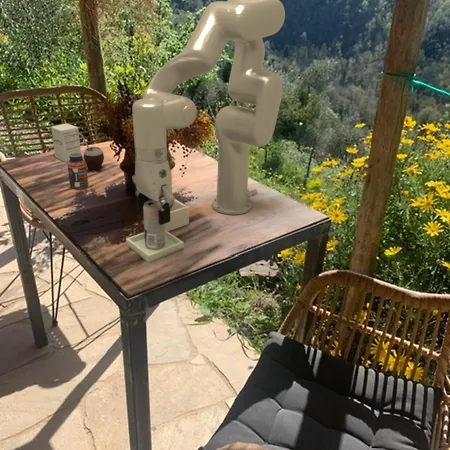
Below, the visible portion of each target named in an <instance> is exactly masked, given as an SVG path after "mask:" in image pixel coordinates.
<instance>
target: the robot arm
mask: <svg viewBox="0 0 450 450" xmlns="http://www.w3.org/2000/svg"><path fill="white" fill-rule="evenodd" d="M285 18H286V11H285V7H284V4H283V3H282V1H280V0H227V1H225V0H224V1H223V0H222V1H221V0H217V1H214V2H211V3H209V4H208V5H207V6H206V8H205V9H204V11H203V13H202V15H201V16H200V18H199V21H198V22H197V24H196V26H195V28H194V30H193V32H192V33H191V35H190V37H189V40H188V41H187V43H186V46H185V47H184V49H183V50H182V51H181V52H180V53H178V54H177V55H175V56H174V57H172V58H171V59H170V60H169V61H167V62H166V63H165V64H163V65H162V66H161V67H160V68H159V69H158V70H157V71H156V72H155V74H154V75H153V76H152V78H151V80H150V82H149V84H148V86H147V87H146V90H145V91H144V94H143V96H142V98H140V99H137V100H135V101H134V102H133V103H132V126H133V127H132V128H133V138H134V139H133V142H134V143H133V144H134V155H135V163H134V164H135V165H134V168H135V169H134V175H132V177H131V178H132V182H133V188H134V189H135V196H136V202H137V203H136V207H137V211H139V212H141V211H143V207H144V203H145V202H147V201H150V200H154V201H157V204H158V206H159V208H160V210H158V217H159V224H160V225H162V224H165V223H168V222H170V209H171V208H172V206H173V203H174V200H175V199H176V198H175V196H174V194H173V187H172V185H173V184H172V174H171V169H170V163H169V160H168V151H167V148H168V147H167V131H168V130H178V129H184V128H187V127H189V126H190V125H192V124H193V123H194V122H195V120H196V118H197V114H198V109H197V106H196V104H195V102H194V101H193V100H191V98H189V97H187V96H184V95H180V94H174V93H173V91H174V90H175V89H176V88H177V87H178V86H180V85H181V84H182V83H184V82H186V81H188V80H189V79H190V80H191V79H193V78H197V77H199V76H202V75H205V74H209V73H210V72H212V71H213V70H214V69H215V67H216V65H217V64H218V61H219V59H220V57H221V55H222V54H223V53H224V50H225V47H226V46H227V44H228V42H229V41H234V54H233V60H232V65H231V68H230V69H231V70H230V74H229V81H228V85H227V92H228V96H229V97H230V98H231V99H232V100H234V101H235V102H240V103H243V104H248V105H252V106H253V105H254V106H255V109H250V108H247V107H246V108H245V107H242V106H237V105H227V106H224V107H222V108H221V109H220V110H219V111H218V112H217V114H216V116H215V117H216V118H215V130H216V135H217V137H216V138H217V144H218V145H217V147H218V148H217V150H218V152H217V155H218V156H217V180H216V181H217V182H216V183H217V186H216V197H215V198H213V200H212V201H211V207H212V209H213V210H214V211H215V212H218V213H221V214H224V215H233V216H235V215H243V214H245V213H248V212H249V211H250V210H251V209H252V202H251V201H250V199H251V197H255V196H257V195H258V190H257V189H251V190H250V191H249V188H248V185H249V173H250V172H249V171H250V169H249V168H250V160H251V159H250V156H251V155H250V148H249V146H248V145H251V146H254V147H261V148H262V147H264V146H266V145H268V144H269V142H270V141H271V140H272V138H273V135H274V133H275V128H276V124H277V120H278V115H279V111H280V105H281V102H282V96H283V90H284V89H283V82H282V79H281V77H280V75H278V74H277V73H276V72H273V71H270V70H263V67H264V62H265V55H266V48H265V43H264V41H263V38H267V37H269V36H273V35H275V34H276V33H278V32H279V31H280V30H281V28H282V27H283V25H284V23H285ZM161 196H162V197H161ZM163 200H165V204H164V205H162V202H161V201H163Z"/></svg>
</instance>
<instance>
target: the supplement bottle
mask: <svg viewBox="0 0 450 450" xmlns="http://www.w3.org/2000/svg"><path fill="white" fill-rule="evenodd" d="M69 157H70V160H69V161H68V162H66V163H67V166H66V167H67V172H68V180H69V187H70V188H72V189H74V190H82V189H85V188H87V187H88V186H89V181H88V179H89V178H88V168H87V165H86V162H85V160H84V158H83V154H82V153H81V154H80V153H73V154H70V155H69Z"/></svg>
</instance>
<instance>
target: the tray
mask: <svg viewBox="0 0 450 450" xmlns="http://www.w3.org/2000/svg"><path fill="white" fill-rule="evenodd" d="M125 244H126V246H127V247H128V248H129V249H131V250H132V251H133V252H134V253H136V254H137V255H139V257H140V258H142V259H143V260H145V261H146V262H147V263H149V264H150V263H152V262H154V261H157V260H160V259H162V258H165V257H168V256H169V255H172V254H174V253H177V252H179V251H182V250H184V249H185V242H184V241H183V240H181V239H180V238H178V237H176V235H174V234H172V233H171V232H170V231H166V230H165V245H164V246H163V247H162V248H160V249H149V248H147V247H146V245H145V233H144V232H141V233H138V234H134V235H133V236H129V237H127V238H125Z"/></svg>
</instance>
